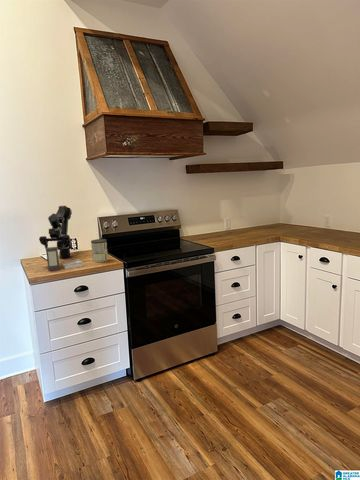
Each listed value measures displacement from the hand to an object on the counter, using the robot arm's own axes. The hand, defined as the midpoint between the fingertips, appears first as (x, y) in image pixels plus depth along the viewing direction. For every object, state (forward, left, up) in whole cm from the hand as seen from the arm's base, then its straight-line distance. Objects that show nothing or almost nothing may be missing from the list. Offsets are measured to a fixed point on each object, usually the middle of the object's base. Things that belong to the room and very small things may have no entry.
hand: (53, 250), depth 224 cm
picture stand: (-9, +6, -11) cm, 16 cm away
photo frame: (+3, +3, -11) cm, 12 cm away
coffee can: (-28, +8, -11) cm, 32 cm away
